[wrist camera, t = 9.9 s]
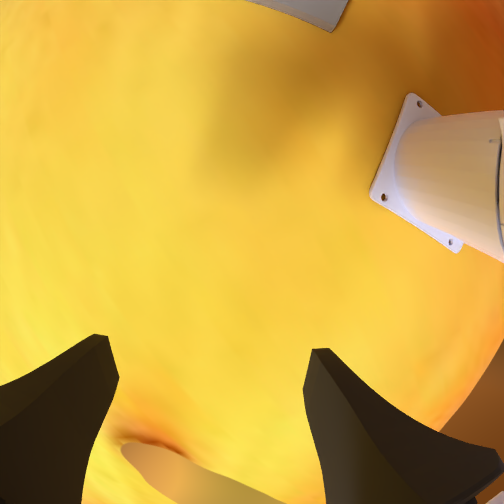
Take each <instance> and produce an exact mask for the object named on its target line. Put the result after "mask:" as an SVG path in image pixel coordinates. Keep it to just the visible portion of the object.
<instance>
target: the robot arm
mask: <svg viewBox="0 0 504 504" xmlns="http://www.w3.org/2000/svg"><path fill="white" fill-rule="evenodd" d="M417 102H418V103H419V105H420V108H419V107H418V105H417ZM382 194H385V199H384V200H383V201H382V199H381V195H382ZM369 196H370V198H371V199H372V200H373V201H375V202H377V203H378V204H380V205H382V206H383V207H385V208H387V209H388V210H390V211H392V212H393V213H395V214H397V215H398V216H400V217H401V218H403V219H405V220H406V221H408V222H409V223H411V224H413V225H414V226H416V227H417V228H419V229H420V230H422V231H423V232H425V233H426V234H428V235H429V236H431V237H432V238H434V239H435V240H437V241H438V242H439V243H441V244H442V245H444V246H445V247H447V248H448V249H449V250H451V251H452V252H454V253H458V252H459V251H460V250H461V248H462V245H463V243H465V244H467V245H469V246H471V247H473V248H475V249H477V250H479V251H481V252H483V253H485V254H487V255H489V256H491V257H493V258H495V259H497V260H499V261H501V262H503V263H504V110H496V111H483V112H473V113H463V114H455V115H448V116H442V115H440V114H439V113H438V112H437V111H436V110H435V109H433V108H432V107H431V106H430V105H429V104H427V103H426V102H425V101H424V100H422V99H421V98H420V97H419V96H417V95H416V94H414V93H409V94H407V95H406V97H405V100H404V103H403V106H402V109H401V112H400V115H399V118H398V120H397V123H396V126H395V129H394V131H393V134H392V137H391V139H390V142H389V144H388V147H387V149H386V152H385V154H384V157H383V159H382V162H381V164H380V167H379V169H378V171H377V174H376V176H375V178H374V181H373V183H372V185H371V188H370V190H369ZM449 240H450V242H449ZM118 381H119V374H118V371H117V368H116V364H115V361H114V357H113V354H112V350H111V346H110V343H109V339H108V336H104V335H98V334H93V335H91V336H89V337H87V338H86V339H84V340H82V341H81V342H79V343H77V344H76V345H74V346H73V347H71V348H70V349H68V350H67V351H65V352H63V353H62V354H60V355H59V356H57V357H56V358H54V359H52V360H51V361H49V362H47V363H46V364H44V365H42V366H40V367H39V368H37V369H35V370H34V371H32V372H30V373H28V374H26V375H24V376H22V377H20V378H18V379H16V380H14V381H12V382H9V383H7V384H4V385H2V386H0V504H81V501H82V491H83V485H84V479H85V474H86V469H87V465H88V461H89V457H90V453H91V450H92V447H93V444H94V441H95V439H96V437H97V434H98V432H99V430H100V428H101V425H102V423H103V421H104V419H105V416H106V414H107V412H108V409H109V407H110V405H111V403H112V400H113V398H114V394H115V391H116V388H117V384H118ZM303 395H304V403H305V409H306V415H307V418H308V422H309V426H310V429H311V433H312V436H313V440H314V443H315V447H316V450H317V453H318V457H319V460H320V465H321V469H322V474H323V481H324V488H325V496H326V504H477V500H476V498H475V496H476V495H478V494H479V493H480V492H481V491H483V490H484V489H485V488H486V487H488V486H489V485H490V484H491V483H492V482H494V481H495V480H496V479H497V478H498V477H499V476H500V475H501V474H502V473H503V472H504V463H503V462H502V460H501V458H500V457H499V455H498V454H497V452H496V450H495V449H491V448H487V447H482V446H478V445H474V444H469V443H466V442H463V441H460V440H457V439H454V438H452V437H449V436H446V435H444V434H442V433H439V432H437V431H435V430H433V429H431V428H429V427H427V426H425V425H423V424H421V423H419V422H418V421H416V420H414V419H413V418H411V417H409V416H408V415H406V414H405V413H403V412H402V411H400V410H399V409H397V408H396V407H394V406H393V405H391V404H390V403H389V402H388V401H386V400H385V399H384V398H382V397H381V396H380V395H379V394H377V393H376V392H375V391H374V390H373V389H371V388H370V387H369V386H368V385H367V384H366V383H365V382H364V381H362V380H361V379H360V378H359V377H358V376H357V375H356V374H355V373H354V372H353V371H352V370H351V369H350V368H349V367H348V366H347V365H346V364H345V363H344V362H343V361H342V360H341V359H340V358H339V357H338V356H337V355H336V354H335V353H334V352H333V351H332V350H330V349H329V348H320V349H312V352H311V357H310V361H309V365H308V370H307V374H306V378H305V382H304V386H303ZM486 504H504V491H502V492H500V493H499V494H498V495H497V496H496V497H494V498H493V499H491V500H490V501H489V502H487V503H486Z"/></svg>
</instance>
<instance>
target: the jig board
mask: <svg viewBox="0 0 504 504" xmlns="http://www.w3.org/2000/svg"><path fill="white" fill-rule="evenodd" d="M246 1H250V2H253V3H256V4H260V5H263V6H266V7H269V8H272V9H275V10H278V11H281V12H283V13H286V14H289V15H291V16H294V17H296V18H299V19H301V20H304V21H306V22H308V23H311V24H313V25H315V26H318V27H320V28H322V29H324V30H326V31H328V32H330V33H331V32H332V31H333V29H334V28H335V27H336V25H337V23H338V21H339V19H340V16H341V14H342V12H343V10H344V8H345V6H346V4H347V2H348V0H246Z"/></svg>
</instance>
